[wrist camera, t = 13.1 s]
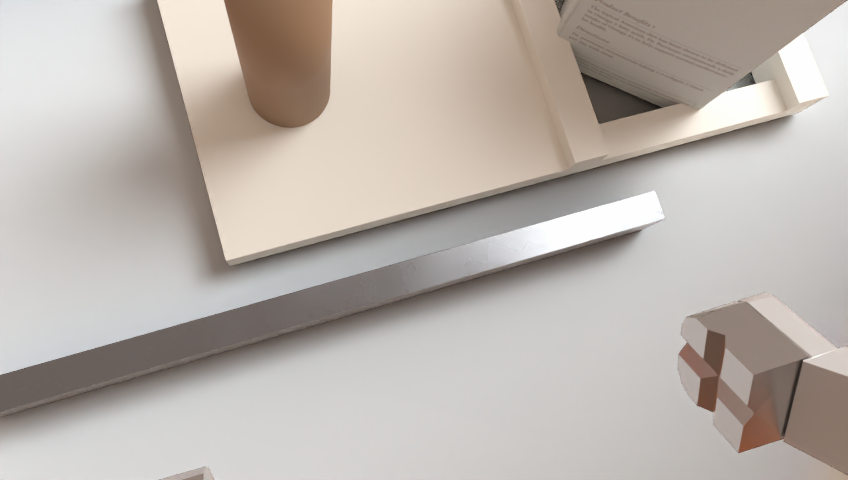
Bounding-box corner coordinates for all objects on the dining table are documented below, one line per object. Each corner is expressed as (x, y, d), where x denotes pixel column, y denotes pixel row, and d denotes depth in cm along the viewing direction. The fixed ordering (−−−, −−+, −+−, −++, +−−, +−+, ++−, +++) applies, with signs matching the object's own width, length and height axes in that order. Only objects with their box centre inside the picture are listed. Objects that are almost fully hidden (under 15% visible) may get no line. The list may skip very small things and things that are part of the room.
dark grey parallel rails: (511, -139, 33) (523, -171, 31) (643, 229, 30) (665, 218, 28) (-93, -33, 28) (-123, -64, 26) (0, 417, 25) (-27, 419, 24)
